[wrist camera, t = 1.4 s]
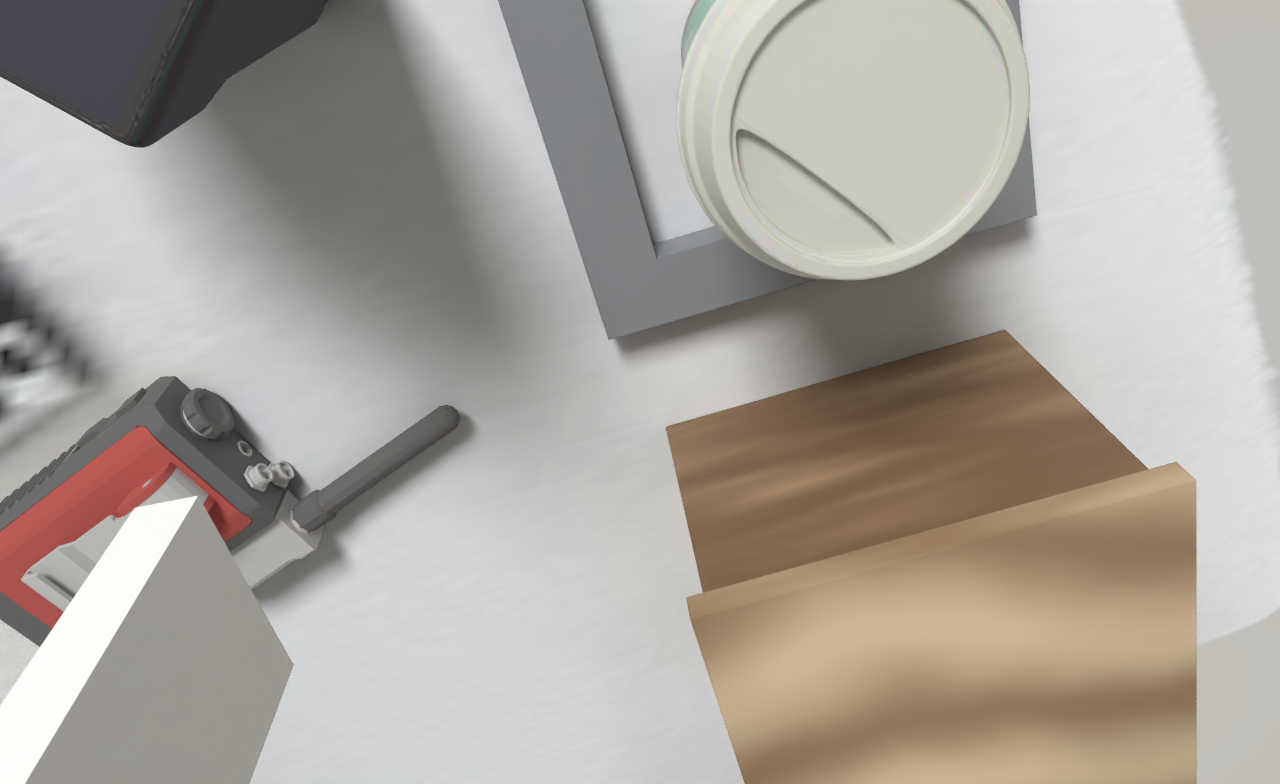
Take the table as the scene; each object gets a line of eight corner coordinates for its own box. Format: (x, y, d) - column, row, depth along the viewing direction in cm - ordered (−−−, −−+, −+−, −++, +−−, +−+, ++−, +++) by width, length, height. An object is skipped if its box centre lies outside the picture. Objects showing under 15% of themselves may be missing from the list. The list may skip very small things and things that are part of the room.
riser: (1044, 598, 45) (1196, 816, 35) (733, 682, 46) (790, 921, 36) (1016, 315, 38) (1195, 480, 28) (650, 420, 39) (690, 619, 29)
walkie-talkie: (123, 661, 43) (476, 414, 39) (81, 738, 39) (469, 473, 35) (-52, 533, 39) (318, 245, 35) (-117, 605, 35) (290, 291, 31)
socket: (1018, 203, 36) (1036, 215, 35) (606, 323, 37) (608, 340, 36) (972, -304, 29) (992, -312, 27) (457, -138, 30) (452, -140, 28)
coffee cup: (600, -26, 31) (629, 21, 21) (851, -138, 31) (1015, -148, 20) (692, 211, 35) (756, 352, 25) (917, 118, 34) (1083, 222, 24)
